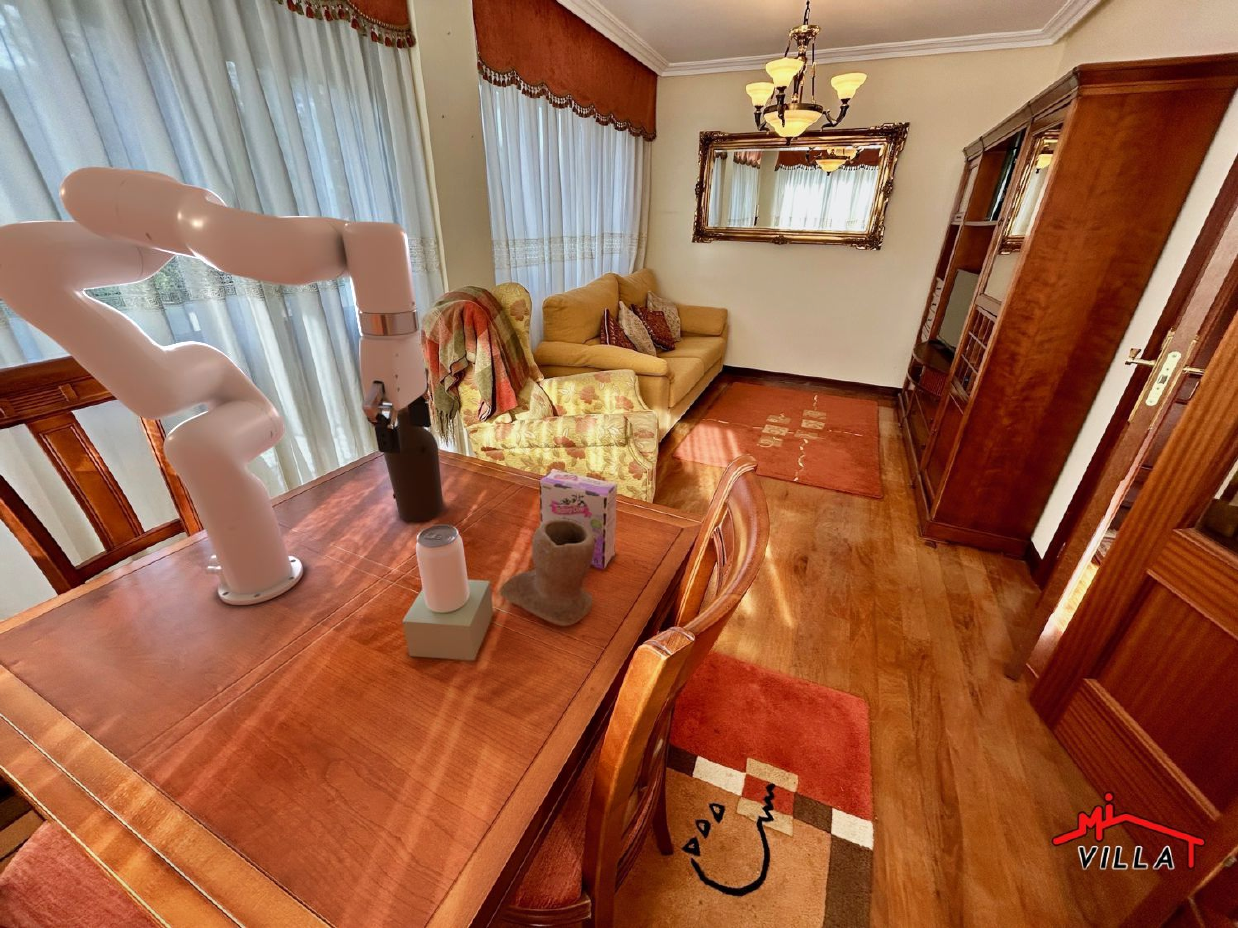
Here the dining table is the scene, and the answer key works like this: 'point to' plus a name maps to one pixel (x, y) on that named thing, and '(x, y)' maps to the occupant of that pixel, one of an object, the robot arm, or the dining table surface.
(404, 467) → the olive oil
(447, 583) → the can
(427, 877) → the dining table surface
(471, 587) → the block
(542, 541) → the stone cup
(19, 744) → the dining table surface
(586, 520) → the candy box
